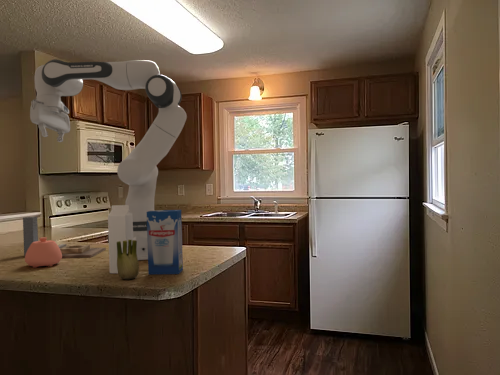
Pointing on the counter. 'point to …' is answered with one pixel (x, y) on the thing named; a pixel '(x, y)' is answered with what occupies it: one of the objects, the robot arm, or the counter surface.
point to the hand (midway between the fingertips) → (52, 139)
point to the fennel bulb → (127, 260)
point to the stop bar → (29, 232)
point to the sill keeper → (79, 251)
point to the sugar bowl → (43, 253)
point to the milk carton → (164, 242)
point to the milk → (118, 232)
